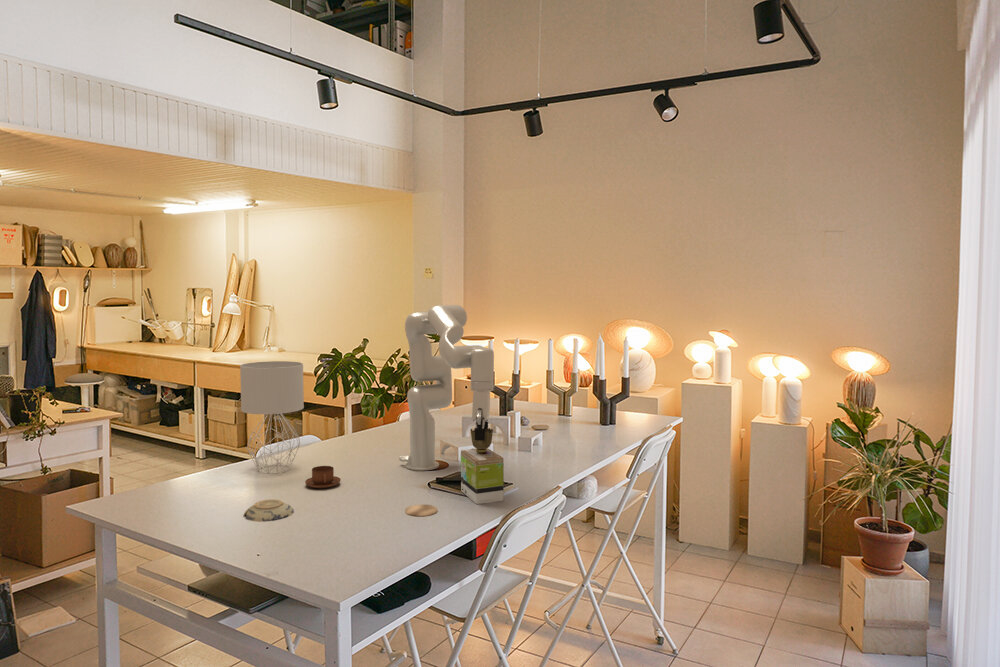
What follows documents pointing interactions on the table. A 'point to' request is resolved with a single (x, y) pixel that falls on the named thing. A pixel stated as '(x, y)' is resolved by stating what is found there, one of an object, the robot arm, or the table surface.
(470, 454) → the tea box
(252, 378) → the table lamp
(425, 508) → the cork coaster
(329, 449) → the table surface
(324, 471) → the cup and saucer
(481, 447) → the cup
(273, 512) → the decorative bowl
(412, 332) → the robot arm
